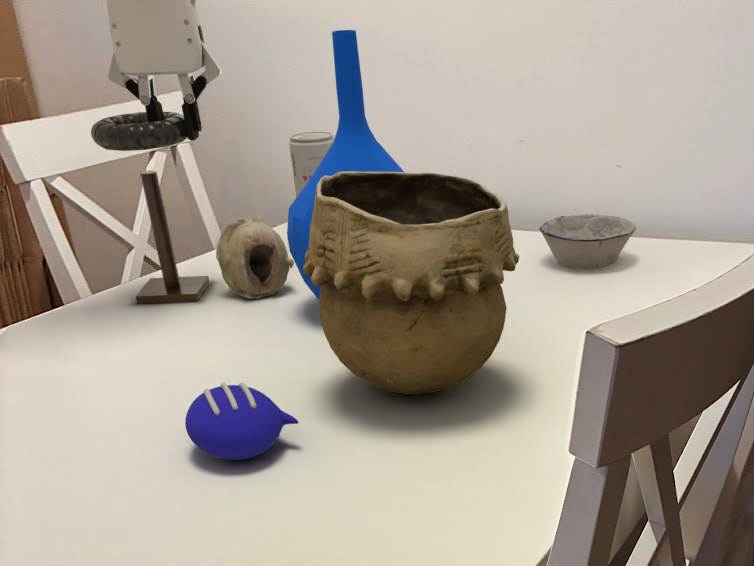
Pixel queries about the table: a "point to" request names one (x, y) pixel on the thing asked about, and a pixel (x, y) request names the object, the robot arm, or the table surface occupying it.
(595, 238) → the bowl
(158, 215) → the brown upright peg
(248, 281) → the beige rounded lump
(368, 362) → the clay pot
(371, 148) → the vase
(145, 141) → the ring
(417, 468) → the table surface
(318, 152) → the beverage can
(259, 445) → the decorative object
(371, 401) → the table surface
